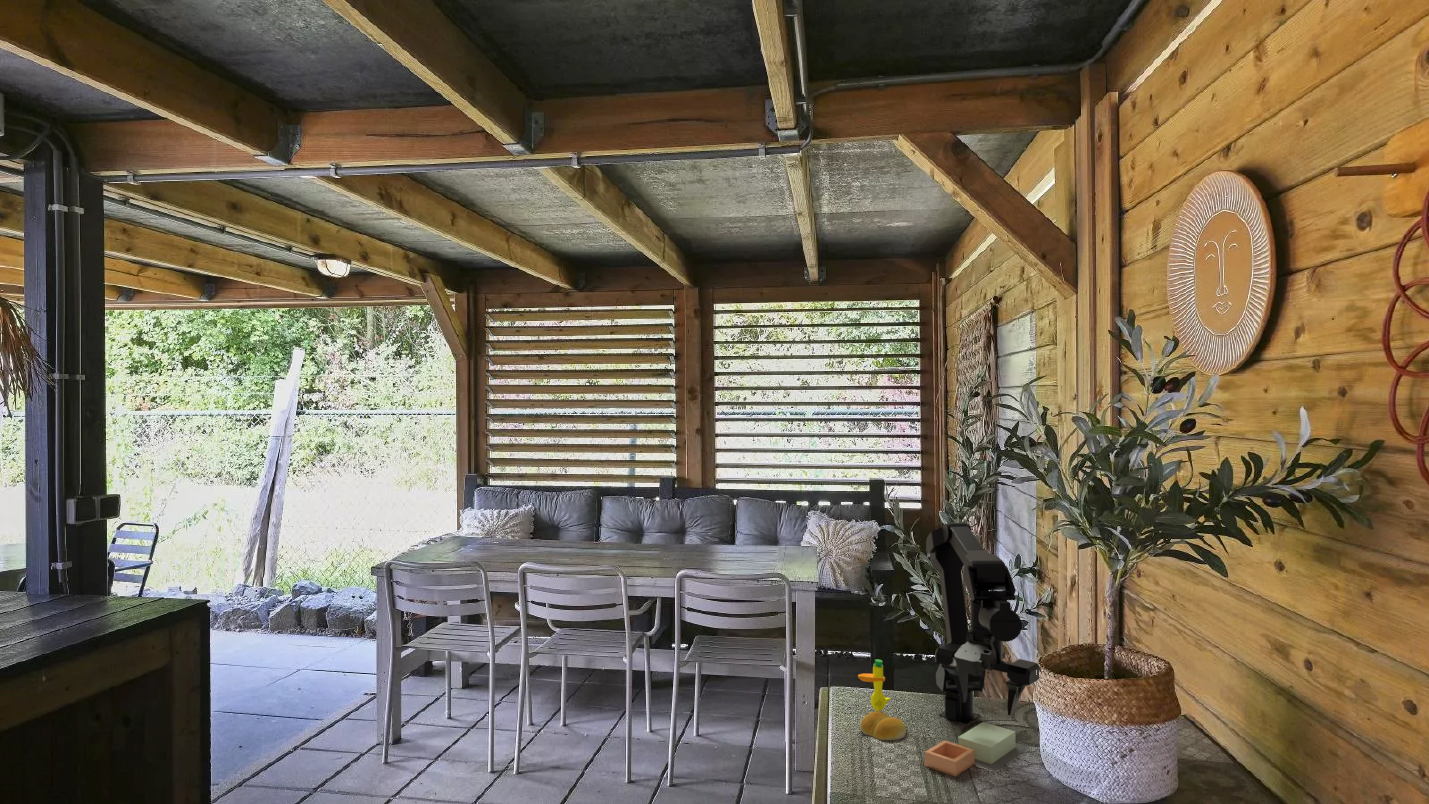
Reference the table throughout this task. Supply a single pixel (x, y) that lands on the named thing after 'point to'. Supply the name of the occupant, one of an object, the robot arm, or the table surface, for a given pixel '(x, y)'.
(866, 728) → the bread roll
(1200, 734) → the table surface
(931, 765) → the dish
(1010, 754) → the mat
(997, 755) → the lid
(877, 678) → the toy figure
